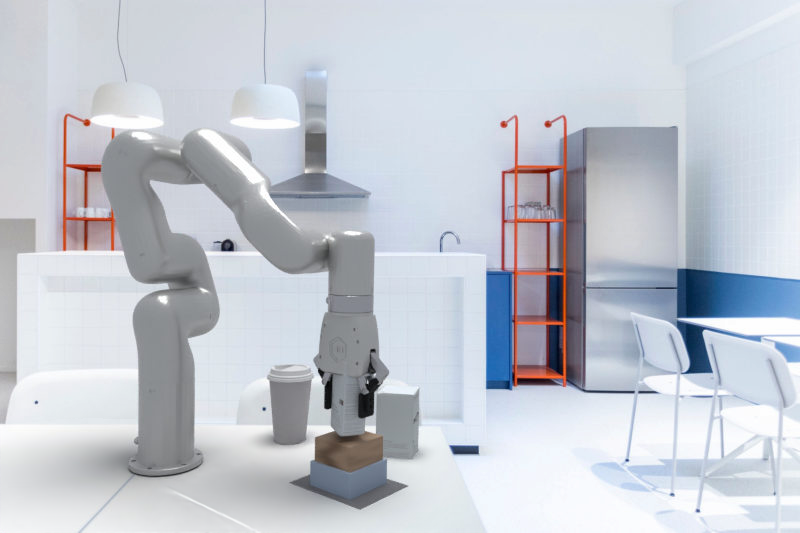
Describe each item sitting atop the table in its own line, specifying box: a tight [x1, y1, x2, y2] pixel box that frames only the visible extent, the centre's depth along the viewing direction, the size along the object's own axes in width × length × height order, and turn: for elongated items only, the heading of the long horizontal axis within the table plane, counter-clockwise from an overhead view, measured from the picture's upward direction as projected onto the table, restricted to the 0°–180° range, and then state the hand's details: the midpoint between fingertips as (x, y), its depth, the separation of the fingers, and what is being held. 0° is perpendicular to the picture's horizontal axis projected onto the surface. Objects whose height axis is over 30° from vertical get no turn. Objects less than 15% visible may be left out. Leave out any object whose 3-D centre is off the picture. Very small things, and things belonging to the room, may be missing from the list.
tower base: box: [309, 457, 388, 500], centre depth 101 cm, size 9×9×4 cm
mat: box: [288, 474, 409, 510], centre depth 101 cm, size 16×12×1 cm
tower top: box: [314, 430, 384, 473], centre depth 101 cm, size 8×8×4 cm
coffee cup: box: [266, 363, 315, 446], centre depth 124 cm, size 10×10×15 cm
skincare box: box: [330, 363, 368, 436], centre depth 100 cm, size 6×4×12 cm
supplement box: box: [375, 384, 420, 460], centre depth 117 cm, size 7×7×13 cm
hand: (348, 411), depth 100 cm, fingers closed on skincare box, 7 cm apart
